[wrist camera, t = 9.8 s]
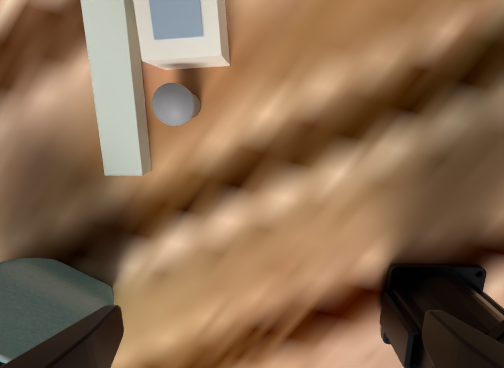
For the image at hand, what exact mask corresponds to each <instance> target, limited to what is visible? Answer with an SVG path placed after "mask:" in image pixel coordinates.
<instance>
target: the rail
mask: <svg viewBox="0 0 504 368" xmlns="http://www.w3.org/2000/svg"><path fill="white" fill-rule="evenodd" d="M81 6H82V13H83V21H84V28H85V35H86V43H87V50H88V57H89V64H90V72H91V79H92V86H93V93H94V101H95V108H96V115H97V123H98V130H99V137H100V144H101V152H102V159H103V166H104V173H105V176H142V175H144V174H146V173H148V172H149V171H151V170H152V169H151V159H150V149H149V138H148V128H147V117H146V107H145V96H144V86H143V76H142V65H141V55H140V44H139V37H138V30H137V23H136V16H135V9H134V2H133V0H81ZM152 106H153V111H154V113H155V115H156V116H157V118H158V119H159V120H160V121H161V122H163V123H164V124H167V125H170V126H179V125H182V124H185V123H187V122H188V121H189V120H190V119H191V118H192V117H195V116H196V115H197V114H198V113H199V112H200V109H201V103H200V100H199V98H198V97H197V96H196V95H195V94H193V93H191V92H190V91H189V90H188V89H187V88H186V87H184V86H182V85H180V84H176V83H167V84H164V85H162V86H160V87H159V88H158V89H157V90H156V92H155V93H154V96H153V99H152Z"/></svg>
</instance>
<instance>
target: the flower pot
mask: <svg viewBox="0 0 504 368" xmlns="http://www.w3.org/2000/svg"><path fill="white" fill-rule="evenodd" d="M106 305H114V294H113V290H112V288H111V287H110V286H109V285H107V284H105V283H103V282H101V281H99V280H97V279H94V278H92V277H90V276H88V275H86V274H84V273H82V272H80V271H78V270H76V269H74V268H72V267H70V266H68V265H66V264H64V263H62V262H59V261H57V260H54V259H44V258H22V259H14V260H8V261H4V262H0V366H2V365H4V364H6V363H7V362H9V361H11V360H12V359H14V358H16V357H18V356H19V355H21V354H23V353H24V352H26V351H28V350H30V349H31V348H33V347H35V346H36V345H38V344H40V343H42V342H43V341H45V340H47V339H48V338H50V337H52V336H54V335H55V334H57V333H59V332H60V331H62V330H64V329H66V328H67V327H69V326H71V325H72V324H74V323H76V322H78V321H79V320H81V319H83V318H84V317H86V316H88V315H90V314H91V313H93V312H95V311H96V310H98V309H100V308H102V307H103V306H106Z"/></svg>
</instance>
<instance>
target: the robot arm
mask: <svg viewBox="0 0 504 368" xmlns="http://www.w3.org/2000/svg"><path fill="white" fill-rule="evenodd" d="M396 270H399V272H398V273H395V271H396ZM477 271H479V272H478V273H477V274H475V273H476V272H477ZM485 278H486V270H485V269H484V268H482V267H481V266H479V265H459V264H393V265H392V266H391V267H390V268H389V271H388V280H387V288H386V292H385V293H384V294H383V298H382V307H381V315H380V324H381V326H382V329H381V338H382V339H383V341H384V343H386V344H391V345H392V347H393V349H394V350H395V352H396V354H397V356H398V358H399V360H400V362H401V363H402V365H403V367H404V368H504V308H503V307H501V306H500V305H499V304H498V303H497V302H495V301H494V300H493V299H492V298H491V297H489V296H488V295H487V294H486V293H485V292H483V287H484V283H485ZM123 332H124V327H123V320H122V312H121V308H120V307H119V306H118V305H106V306H103V307H102V308H100V309H98V310H96V311H95V312H93V313H91V314H90V315H88V316H86V317H84V318H83V319H81V320H79V321H78V322H76V323H74V324H72V325H71V326H69V327H67V328H66V329H64V330H62V331H60V332H59V333H57V334H55V335H54V336H52V337H50V338H48V339H47V340H45V341H43V342H42V343H40V344H38V345H36V346H35V347H33V348H31V349H30V350H28V351H26V352H24V353H23V354H21V355H19V356H18V357H16V358H14V359H12V360H11V361H9V362H7V363H6V364H4V365H2V366H0V368H111V365H112V362H113V360H114V357H115V355H116V352H117V350H118V347H119V345H120V342H121V340H122V337H123ZM387 337H388V338H387Z"/></svg>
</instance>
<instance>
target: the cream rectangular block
mask: <svg viewBox="0 0 504 368" xmlns="http://www.w3.org/2000/svg"><path fill="white" fill-rule="evenodd" d="M133 2H134V9H135V16H136V23H137V30H138V37H139V43H140V50H141V57H142V61H143V62H146V63H149V64H151V65H154V66H157V67H159V68H162V69H165V70H174V69H189V68H203V67H217V66H230V59H229V45H228V32H227V19H226V5H225V0H133Z"/></svg>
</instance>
